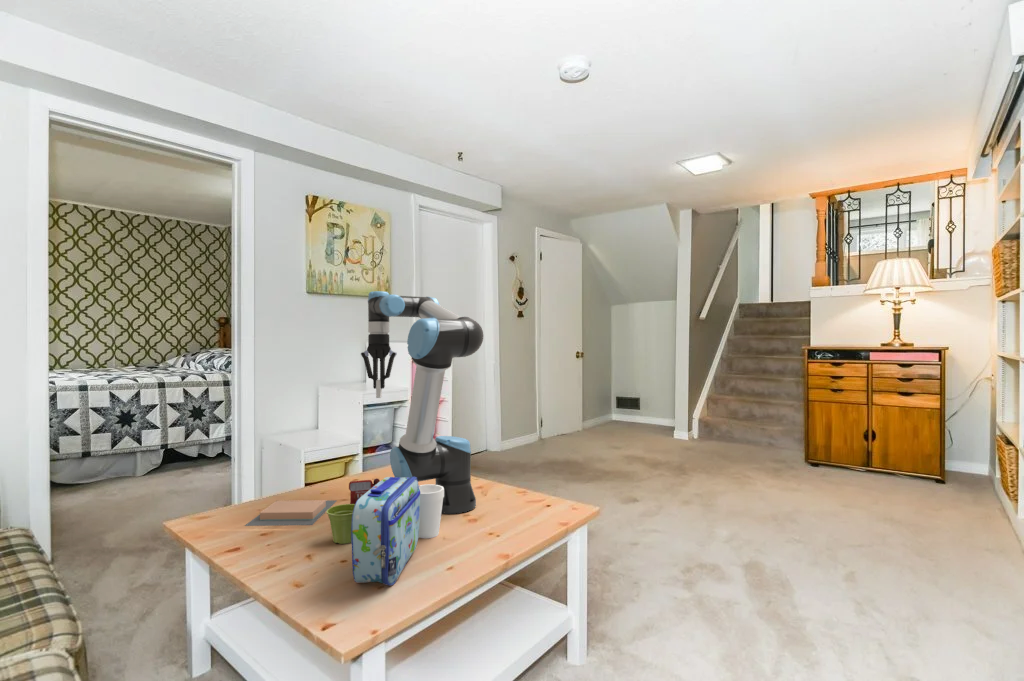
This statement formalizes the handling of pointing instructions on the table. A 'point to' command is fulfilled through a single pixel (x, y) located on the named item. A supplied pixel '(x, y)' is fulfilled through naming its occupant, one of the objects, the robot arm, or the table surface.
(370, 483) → the toy fire truck
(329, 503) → the rubber mat
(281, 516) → the terracotta tile
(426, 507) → the foam cup
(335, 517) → the plant pot
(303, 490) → the table surface
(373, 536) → the lunch box
